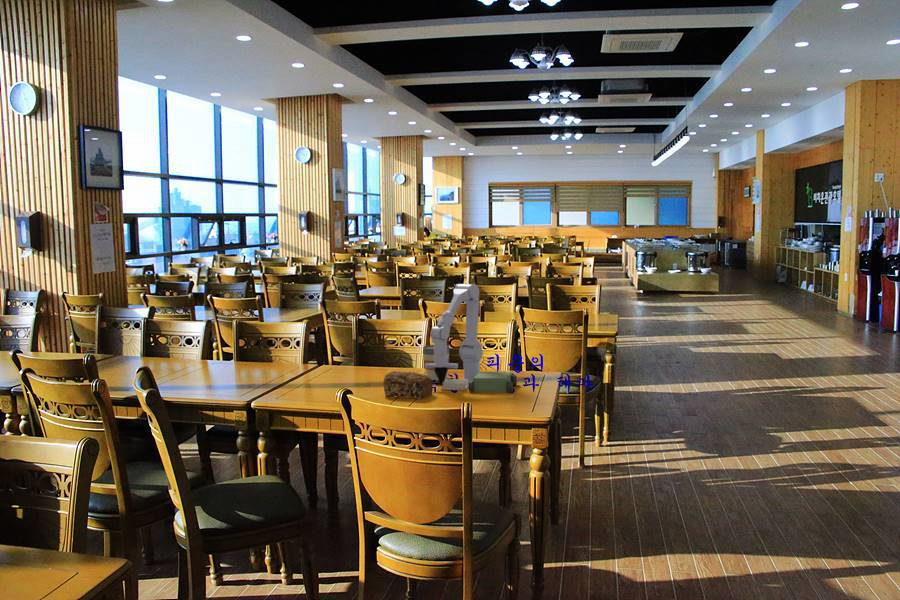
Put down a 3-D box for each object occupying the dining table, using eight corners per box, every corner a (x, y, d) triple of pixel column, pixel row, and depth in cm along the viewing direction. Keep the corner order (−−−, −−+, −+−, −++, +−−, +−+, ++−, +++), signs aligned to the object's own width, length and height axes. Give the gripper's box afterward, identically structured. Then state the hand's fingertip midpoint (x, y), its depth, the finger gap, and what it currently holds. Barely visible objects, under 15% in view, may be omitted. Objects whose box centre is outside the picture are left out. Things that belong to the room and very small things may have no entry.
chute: (446, 386, 336) (446, 379, 336) (468, 386, 334) (468, 379, 334) (442, 389, 329) (442, 382, 329) (465, 389, 327) (465, 382, 327)
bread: (383, 396, 322) (382, 373, 321) (397, 391, 331) (396, 368, 330) (420, 400, 312) (419, 376, 311) (434, 394, 321) (433, 371, 320)
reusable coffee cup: (452, 375, 361) (450, 344, 359) (449, 381, 348) (448, 348, 347) (425, 376, 362) (424, 344, 360) (422, 381, 349) (420, 349, 348)
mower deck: (476, 384, 338) (476, 371, 338) (517, 384, 334) (516, 371, 334) (468, 393, 321) (468, 379, 321) (511, 393, 317) (510, 379, 317)
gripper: (422, 355, 329) (423, 386, 331) (454, 355, 326) (456, 386, 327) (426, 352, 336) (427, 383, 338) (458, 352, 333) (459, 383, 334)
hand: (442, 384), depth 333 cm, fingers closed
